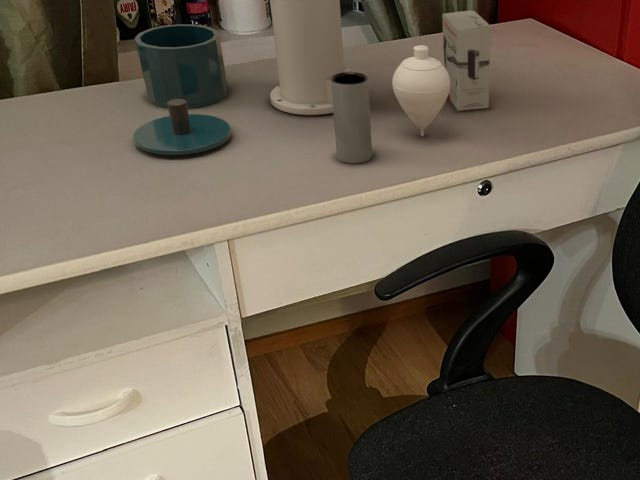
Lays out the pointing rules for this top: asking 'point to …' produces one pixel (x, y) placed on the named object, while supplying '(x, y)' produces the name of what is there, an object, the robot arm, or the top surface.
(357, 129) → the gray cylinder
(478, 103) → the ink box
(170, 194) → the top surface
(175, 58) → the pot
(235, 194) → the top surface
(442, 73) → the spinning top
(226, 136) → the lid
